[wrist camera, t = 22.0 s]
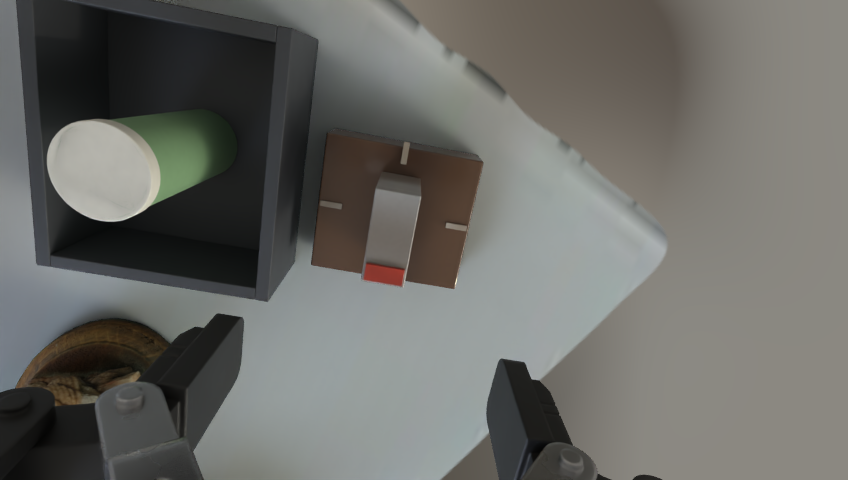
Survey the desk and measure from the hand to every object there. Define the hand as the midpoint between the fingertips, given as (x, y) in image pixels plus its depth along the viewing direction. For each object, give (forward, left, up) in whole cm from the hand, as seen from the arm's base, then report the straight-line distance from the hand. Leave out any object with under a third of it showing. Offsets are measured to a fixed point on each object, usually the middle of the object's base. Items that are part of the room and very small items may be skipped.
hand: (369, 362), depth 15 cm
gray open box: (-14, +2, -20) cm, 24 cm away
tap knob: (0, 0, -17) cm, 17 cm away
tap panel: (0, 0, -20) cm, 20 cm away
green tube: (-13, +2, -20) cm, 24 cm away
